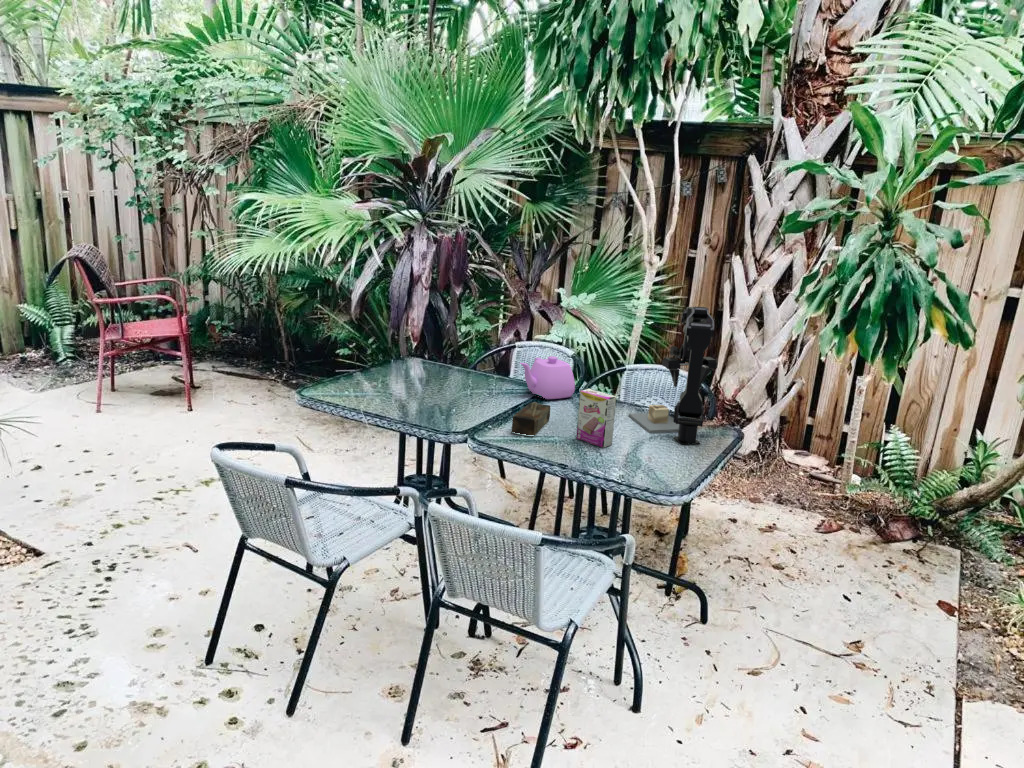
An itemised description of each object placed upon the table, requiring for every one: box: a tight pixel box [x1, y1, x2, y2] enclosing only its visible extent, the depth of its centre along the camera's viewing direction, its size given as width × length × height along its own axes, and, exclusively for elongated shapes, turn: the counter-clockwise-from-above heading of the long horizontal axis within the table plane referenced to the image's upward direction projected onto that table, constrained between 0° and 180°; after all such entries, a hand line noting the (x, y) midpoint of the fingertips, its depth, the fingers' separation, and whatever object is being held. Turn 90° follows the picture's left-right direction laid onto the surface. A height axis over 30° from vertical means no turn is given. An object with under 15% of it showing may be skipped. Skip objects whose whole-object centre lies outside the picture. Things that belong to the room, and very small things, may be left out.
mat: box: [628, 412, 679, 434], centre depth 263 cm, size 18×14×1 cm
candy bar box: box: [575, 388, 617, 449], centre depth 239 cm, size 11×5×16 cm, turn 47°
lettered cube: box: [647, 404, 670, 424], centre depth 262 cm, size 5×5×5 cm
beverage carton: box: [511, 401, 551, 436], centre depth 252 cm, size 8×19×7 cm, turn 161°
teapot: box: [519, 355, 576, 400], centre depth 288 cm, size 23×21×15 cm
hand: (687, 386), depth 266 cm, fingers open, 9 cm apart
